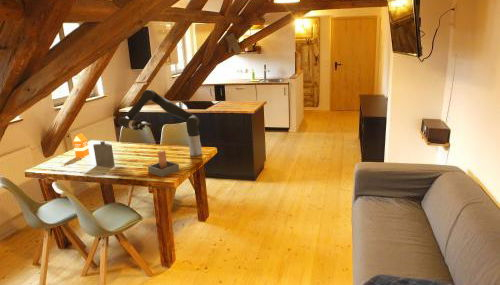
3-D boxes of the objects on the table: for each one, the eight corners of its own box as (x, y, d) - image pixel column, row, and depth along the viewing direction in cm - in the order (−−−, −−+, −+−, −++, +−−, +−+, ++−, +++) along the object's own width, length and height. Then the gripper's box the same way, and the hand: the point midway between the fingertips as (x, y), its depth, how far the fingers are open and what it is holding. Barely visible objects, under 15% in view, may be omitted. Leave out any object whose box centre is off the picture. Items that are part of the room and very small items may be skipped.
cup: (164, 168, 280) (162, 150, 275) (169, 170, 276) (166, 151, 272) (158, 171, 276) (156, 152, 271) (163, 172, 272) (160, 153, 268)
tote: (166, 166, 287) (165, 160, 286) (179, 170, 277) (178, 164, 275) (148, 172, 275) (147, 166, 274) (161, 176, 265) (160, 170, 264)
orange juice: (89, 154, 326) (85, 132, 320) (84, 157, 317) (80, 135, 312) (81, 154, 326) (77, 132, 321) (75, 157, 318) (71, 135, 312)
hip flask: (95, 165, 294) (91, 142, 289) (98, 164, 298) (95, 140, 293) (113, 166, 291) (109, 142, 285) (116, 165, 295) (112, 141, 289)
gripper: (127, 122, 290) (138, 124, 280) (142, 118, 300) (154, 121, 290) (128, 131, 292) (139, 134, 282) (143, 127, 302) (155, 130, 292)
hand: (147, 127), depth 286 cm, fingers open, 8 cm apart
